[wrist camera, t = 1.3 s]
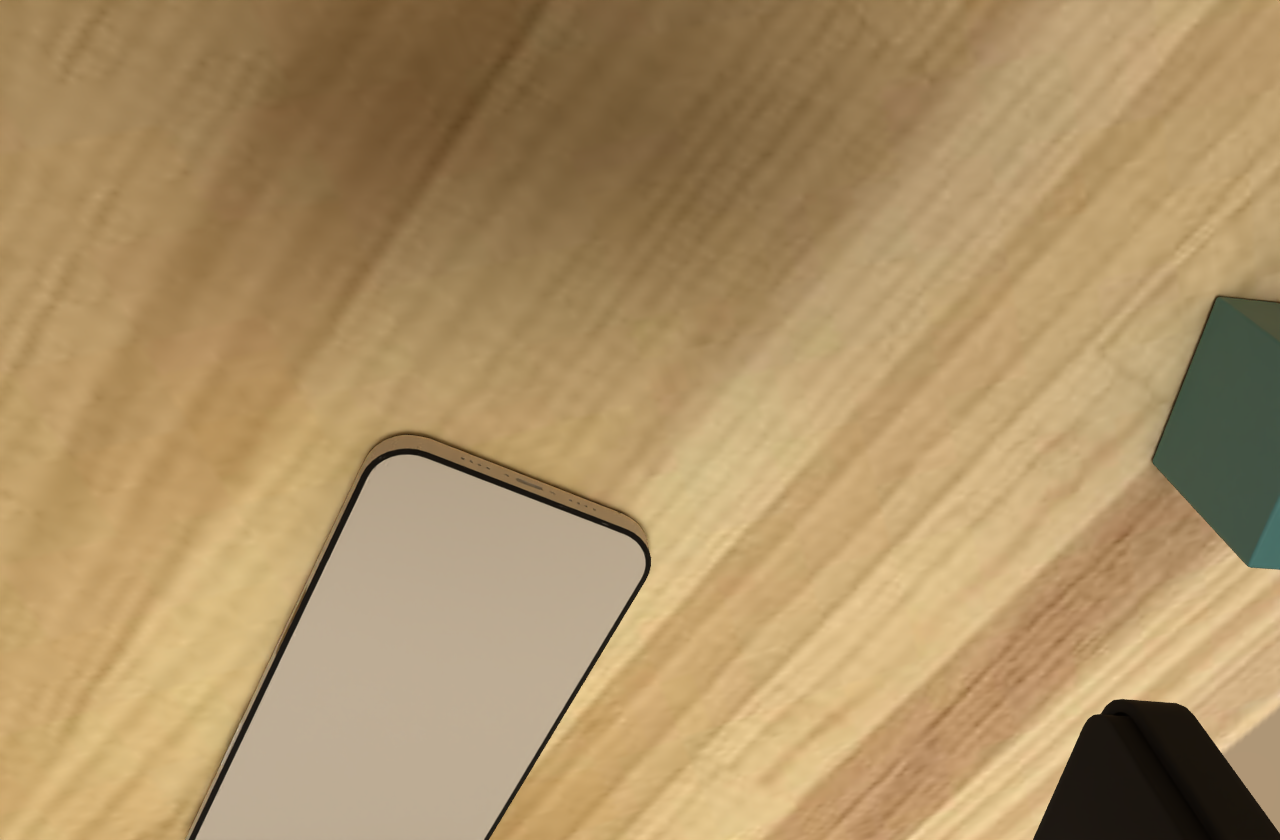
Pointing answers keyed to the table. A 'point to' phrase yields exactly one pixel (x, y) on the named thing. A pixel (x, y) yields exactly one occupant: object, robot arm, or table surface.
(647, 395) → the table surface
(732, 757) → the table surface
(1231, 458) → the block
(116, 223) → the table surface
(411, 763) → the smartphone
